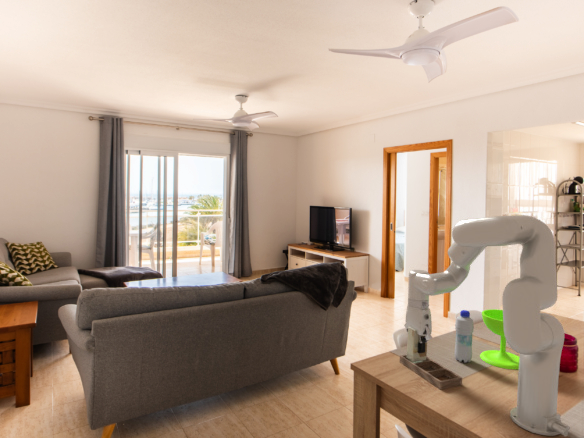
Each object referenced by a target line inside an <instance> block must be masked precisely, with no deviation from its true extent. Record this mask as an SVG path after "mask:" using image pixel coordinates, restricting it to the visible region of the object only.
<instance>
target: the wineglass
mask: <svg viewBox="0 0 584 438" xmlns="http://www.w3.org/2000/svg"><path fill="white" fill-rule="evenodd" d="M481 317H482V320H483V323H484V325H485V326H486V328H487V329H488V330H489V331H491V332H492V333H494V334H495V335H498V336H500V345H499V350H497V349H489V350H484V351H482V352H481V353H479V358H480V359H481V360H482V361H483V362H484V361H485V362H484V363H486V364H489V365H490V366H493V367H497V368H501V369H506V370H519V358H520V355H516V354H514V353H512V352H509V351H506V349H507V348H506V347H507V341H506V338H505V335H504V325H503V309H493V308H492V309H491V308H490V309H484V310H482V311H481Z"/></svg>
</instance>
